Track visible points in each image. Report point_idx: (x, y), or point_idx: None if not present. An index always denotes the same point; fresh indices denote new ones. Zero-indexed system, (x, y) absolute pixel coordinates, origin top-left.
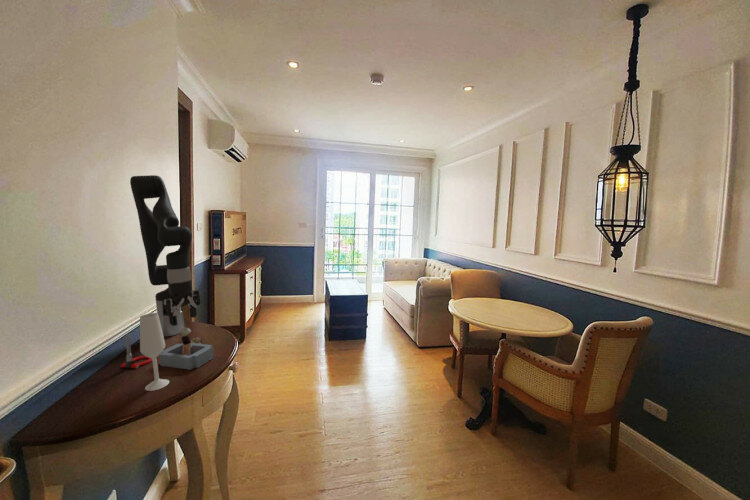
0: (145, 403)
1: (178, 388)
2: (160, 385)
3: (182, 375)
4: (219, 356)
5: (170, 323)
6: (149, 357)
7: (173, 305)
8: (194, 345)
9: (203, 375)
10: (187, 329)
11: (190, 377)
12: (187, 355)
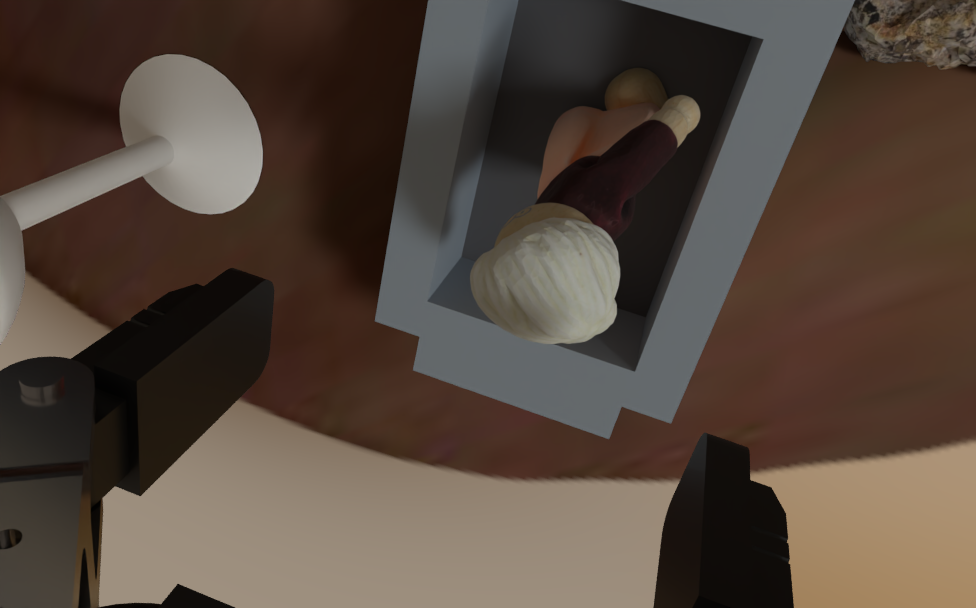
0: None
1: None
2: (163, 188)
3: (332, 252)
4: None
5: (171, 302)
6: None
7: (21, 594)
8: (691, 222)
9: (346, 402)
10: (525, 339)
11: (313, 326)
12: (425, 277)
